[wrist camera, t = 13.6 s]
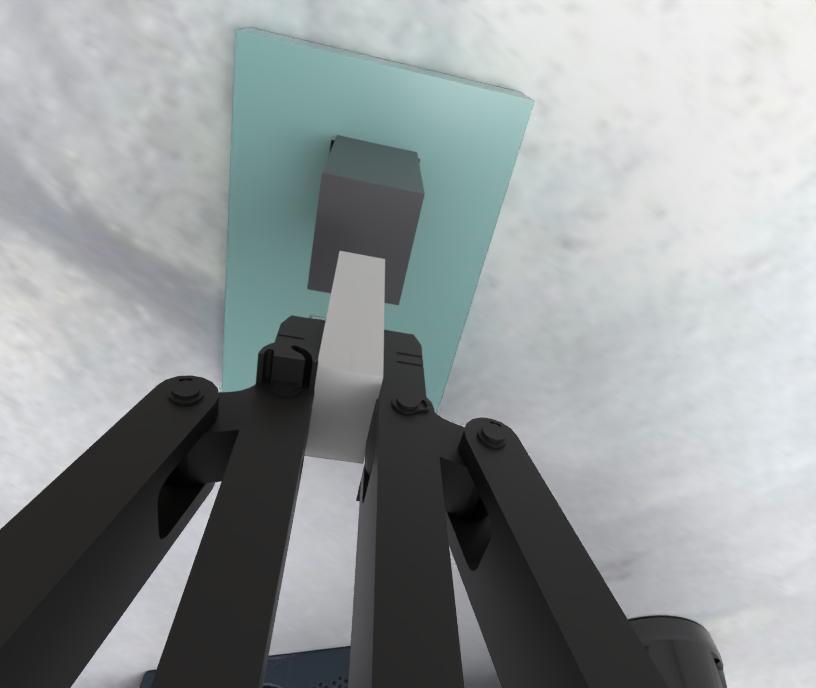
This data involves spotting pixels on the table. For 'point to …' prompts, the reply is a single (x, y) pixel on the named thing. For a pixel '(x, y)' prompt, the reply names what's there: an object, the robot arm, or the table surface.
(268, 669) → the power unit
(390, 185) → the plug
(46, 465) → the table surface
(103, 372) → the table surface
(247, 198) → the socket plate
